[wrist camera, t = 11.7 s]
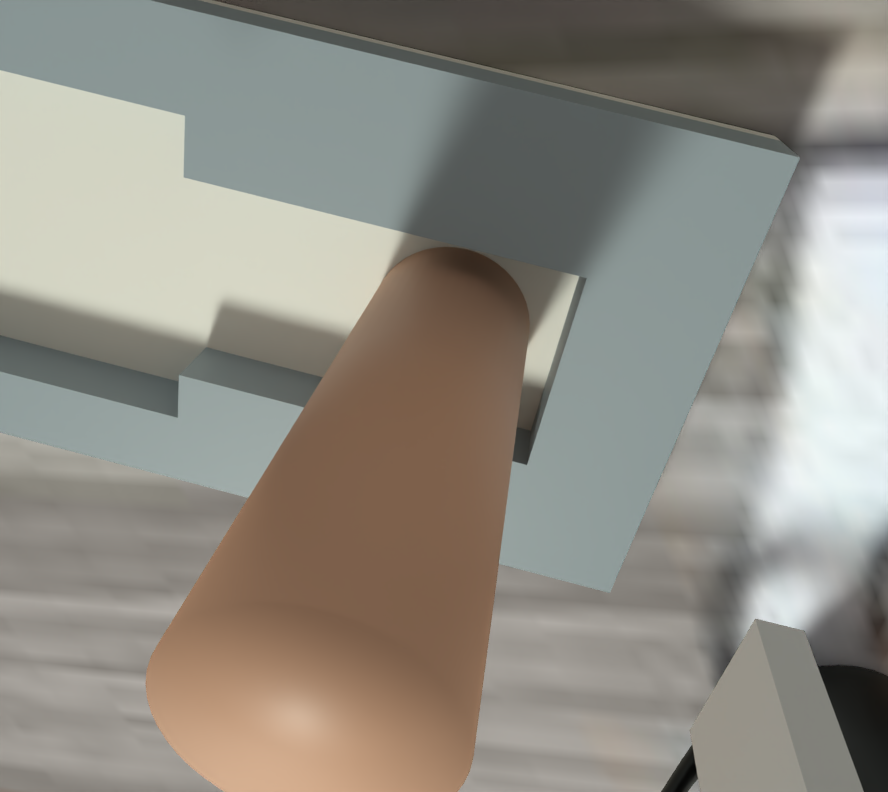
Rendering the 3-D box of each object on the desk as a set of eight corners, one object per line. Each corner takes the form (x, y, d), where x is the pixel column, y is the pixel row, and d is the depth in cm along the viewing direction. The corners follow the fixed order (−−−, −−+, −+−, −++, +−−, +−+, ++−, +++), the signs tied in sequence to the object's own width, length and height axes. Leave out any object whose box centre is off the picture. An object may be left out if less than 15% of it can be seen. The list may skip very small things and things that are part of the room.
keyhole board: (-91, 358, 25) (-150, 393, 23) (-175, -94, 19) (-267, -101, 17) (607, 540, 25) (609, 592, 23) (774, 135, 18) (799, 157, 16)
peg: (362, 371, 22) (146, 780, 11) (386, 229, 20) (144, 562, 9) (508, 408, 22) (437, 859, 11) (548, 269, 20) (510, 658, 9)
